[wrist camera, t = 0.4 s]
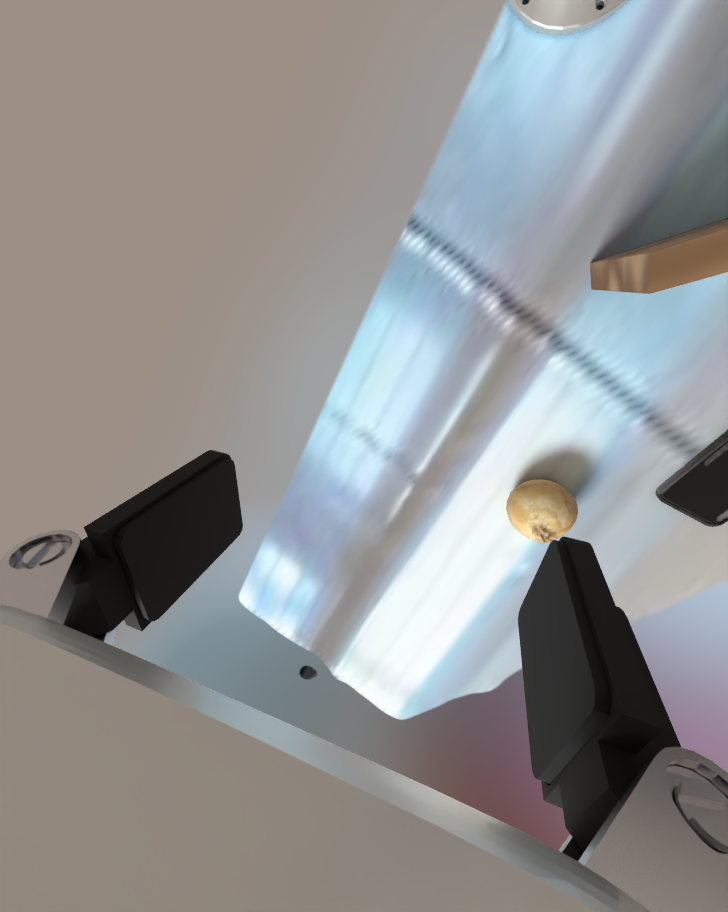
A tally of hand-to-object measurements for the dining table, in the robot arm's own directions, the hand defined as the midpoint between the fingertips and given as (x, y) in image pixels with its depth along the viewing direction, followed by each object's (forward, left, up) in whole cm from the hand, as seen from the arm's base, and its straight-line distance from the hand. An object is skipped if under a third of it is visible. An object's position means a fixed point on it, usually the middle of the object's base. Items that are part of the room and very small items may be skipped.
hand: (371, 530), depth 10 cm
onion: (+22, +6, -35) cm, 42 cm away
